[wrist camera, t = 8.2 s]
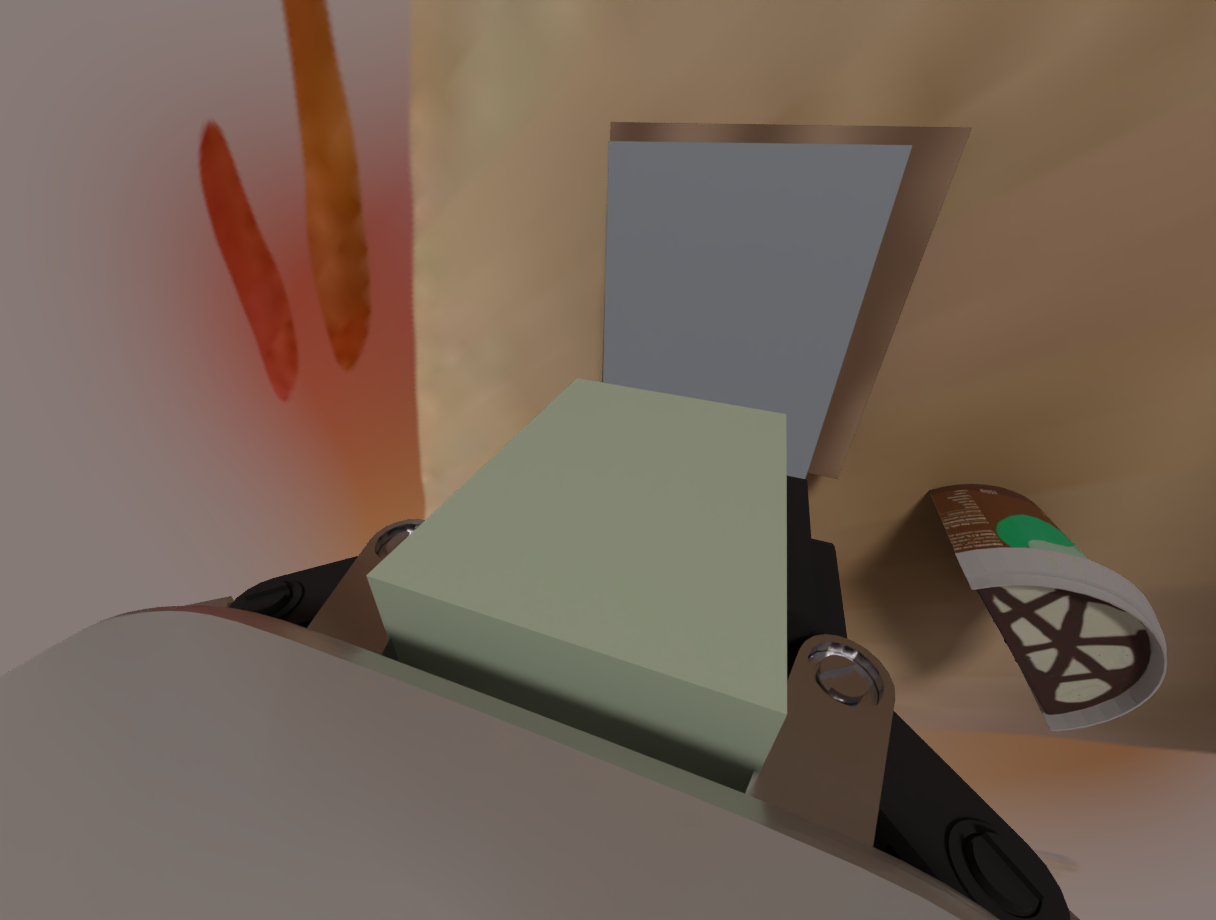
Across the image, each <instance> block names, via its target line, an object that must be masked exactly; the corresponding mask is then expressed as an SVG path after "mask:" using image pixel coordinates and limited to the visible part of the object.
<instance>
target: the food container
mask: <svg viewBox="0 0 1216 920" xmlns="http://www.w3.org/2000/svg"><path fill="white" fill-rule="evenodd" d="M929 493H930V495H931V497H932V500H933V502H934V504H935V507H936V509H937V511H938V513H939V516H940V518H941V520H942V523H943V525H944V527H945V530H946V532H947V534H948V536H949V539H950V541H951V543H952V546H953V548H954V550H955V555H956V557H957V559H958V561H959V564H960V566H961V568H962V570H963V572H964V574H965V576H966V578H967V580H968V582H969V585H970V587H971V589H972V590H975V589H976V591H977V592H978V594H979V595H980V596H981V598H982V600H983V602H984V603H985V605H986V607H987V609H988V611H989V613H990V615H991V616H992V618H993V621H994V622H995V624H996V625H997V627H998V629H999V630H1000V632H1001V634H1002V636H1003V638H1004V642H1005V643H1006V644H1007V645H1008V647H1009V649H1010V651H1011V652H1012V654H1013V656H1014V658H1015V661H1016V662H1017V663H1018V665H1019V667H1020V668H1021V670H1022V673H1023V675H1024V677H1025V679H1026V681H1027V683H1028V685H1029V687H1030V689H1031V691H1032V693H1033V695H1034V697H1035V700H1036V702H1037V704H1038V706H1039V708H1040V710H1041V712H1042V714H1043V716H1044V718H1045V720H1046V722H1047V724H1048V727H1049V729H1050V731H1051V732H1053V731H1064V730H1073V729H1078V728H1084V727H1089V726H1093V725H1097V724H1100V723H1104V722H1107V721H1110V720H1113V719H1115V718H1118V717H1120V716H1123V715H1125V714H1127V713H1129V712H1130V711H1132V710H1134V709H1136V708H1137V707H1139V706H1141V705H1142V704H1143V703H1144V702H1146V701H1147V700H1148V699H1149V698H1151V697H1152V696H1153V695H1154V693H1155V692H1156V691H1157V690H1158V688H1159V687H1160V686H1161V684H1162V682H1163V680H1164V677H1165V675H1166V672H1167V656H1166V654H1167V645H1166V641H1165V637H1164V634H1163V631H1162V629H1161V627H1160V624H1159V622H1158V620H1157V617H1156V615H1155V613H1154V611H1153V609H1152V607H1151V605H1150V604H1149V602H1148V600H1147V599H1146V597H1145V595H1144V594H1143V593H1142V592H1141V591H1140V590H1139V589H1138V588H1137V587H1136V586H1135V585H1134V584H1133V583H1131V582H1130V581H1128V580H1127V579H1125V578H1124V577H1122V576H1121V575H1120V574H1118V573H1117V572H1115V571H1113V570H1111V569H1109V568H1106V567H1104V566H1102V565H1100V564H1098V563H1096V562H1093V561H1090V560H1088V558H1087V557H1086V556H1085V555H1084V554H1083V553H1082V552H1081V551H1080V550H1079V549H1078V548H1077V547H1076V546H1075V545H1074V544H1073V543H1072V542H1071V541H1070V540H1069V539H1068V538H1067V537H1066V535H1065V534H1064V533H1063V532H1062V531H1061V530H1060V529H1059V528H1058V527H1057V526H1056V525H1055V524H1054V523H1053V522H1052V521H1051V520H1050V519H1049V518H1048V517H1047V516H1046V515H1045V514H1044V513H1043V511H1042V510H1041V509H1040V508H1039V507H1038V506H1037V505H1036V504H1034V503H1033V502H1032V501H1030V500H1029V499H1027V498H1026V497H1024V496H1023V495H1020V494H1018V493H1016V492H1014V491H1011V490H1008V489H1004V488H1001V487H996V486H990V485H980V484H962V485H952V486H946V487H941V488H937V489H933V490H929Z"/></svg>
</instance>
